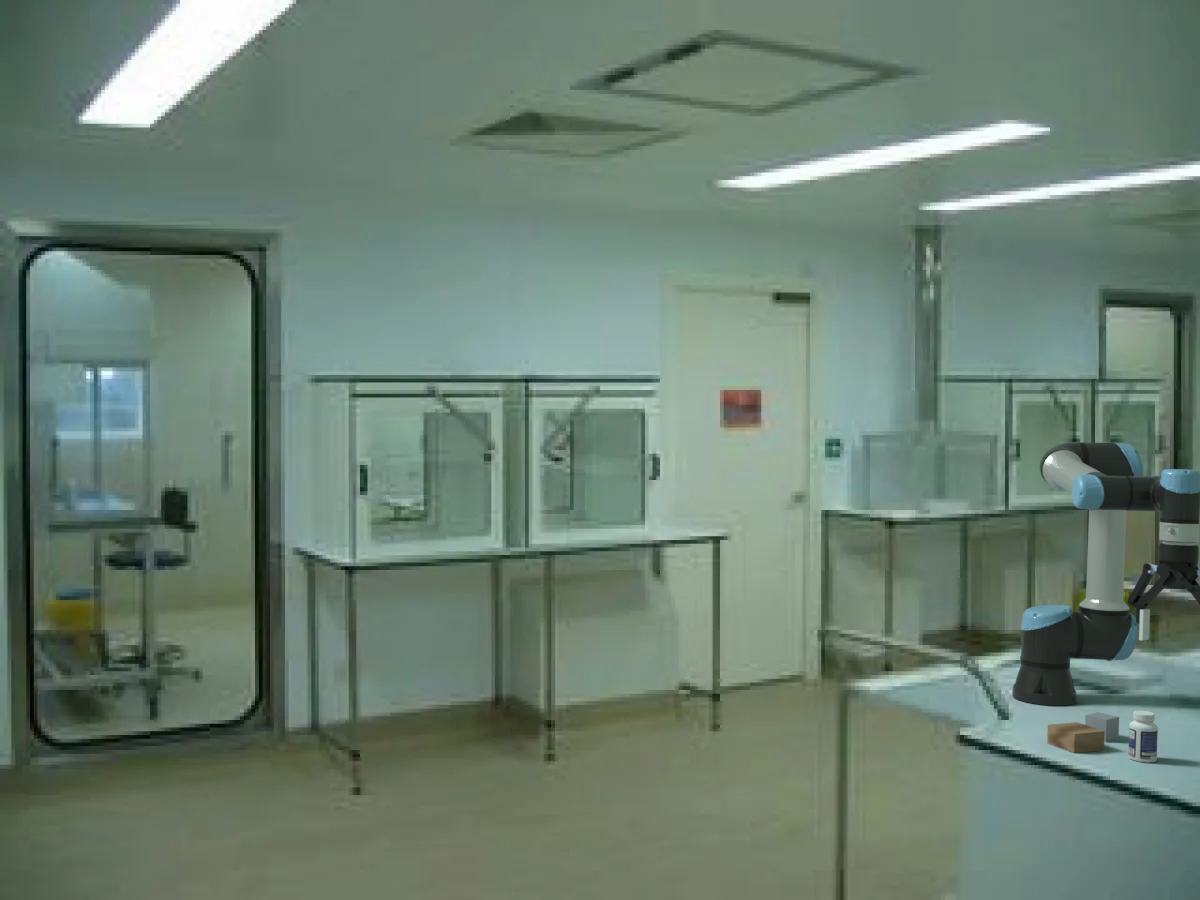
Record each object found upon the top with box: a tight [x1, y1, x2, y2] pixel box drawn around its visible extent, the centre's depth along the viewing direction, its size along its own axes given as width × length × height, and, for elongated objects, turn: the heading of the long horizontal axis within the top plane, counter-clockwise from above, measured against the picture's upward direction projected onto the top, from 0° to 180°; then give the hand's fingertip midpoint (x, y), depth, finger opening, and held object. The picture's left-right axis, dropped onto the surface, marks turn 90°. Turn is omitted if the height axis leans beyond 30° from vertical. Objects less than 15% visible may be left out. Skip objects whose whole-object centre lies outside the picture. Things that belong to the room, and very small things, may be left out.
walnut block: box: [1046, 721, 1105, 754], centre depth 257 cm, size 8×8×4 cm
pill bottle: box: [1127, 710, 1159, 764], centre depth 248 cm, size 5×5×10 cm
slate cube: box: [1084, 711, 1120, 743], centre depth 265 cm, size 5×5×5 cm
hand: (1175, 645), depth 251 cm, fingers open, 13 cm apart
